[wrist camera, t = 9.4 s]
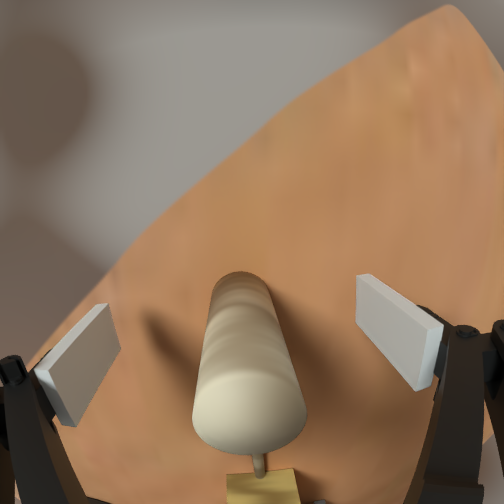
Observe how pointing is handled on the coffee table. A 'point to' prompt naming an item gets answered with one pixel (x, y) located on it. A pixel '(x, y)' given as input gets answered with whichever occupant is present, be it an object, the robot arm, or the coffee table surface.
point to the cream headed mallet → (248, 388)
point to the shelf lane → (320, 502)
